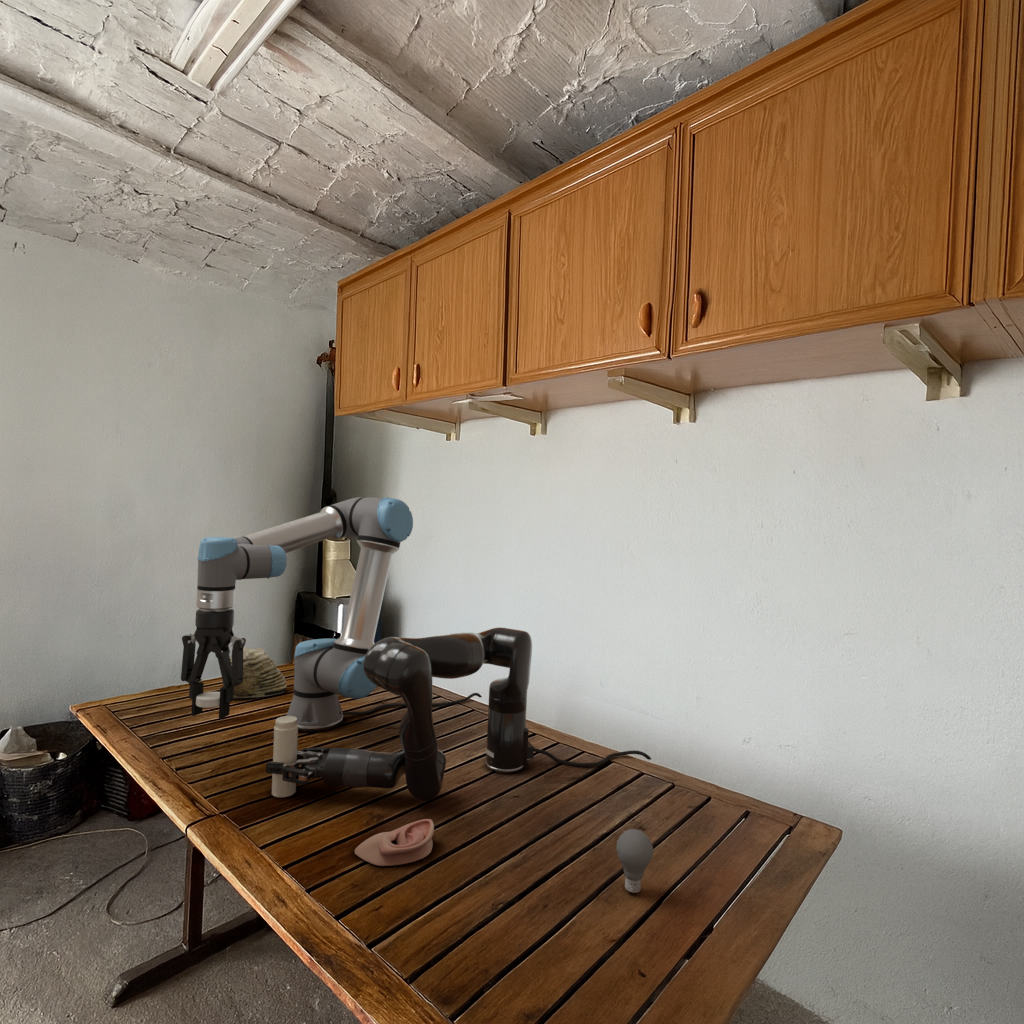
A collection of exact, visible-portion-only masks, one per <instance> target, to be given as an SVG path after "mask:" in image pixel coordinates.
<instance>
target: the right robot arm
mask: <svg viewBox="0 0 1024 1024" xmlns="http://www.w3.org/2000/svg"><path fill="white" fill-rule="evenodd" d="M374 643H375V644H374V645H373V646H372V647H371V648H370V649H369V650H368V652H367V654H366V656H365V658H364V662H363V668H364V672H365V674H366V676H367V678H368V679H369V680H370V681H371V682H372V683H374V684H375V685H377V687H379V688H381V689H383V690H384V691H387V692H389V693H391V694H392V695H395V696H399V697H401V698H402V700H403V703H405V704H406V706H405V707H406V708H407V710H406V712H405V713H404V715H403V716H402V718H401V720H400V722H399V727H398V736H399V742H400V745H401V748H402V750H399V751H396V752H395V751H394V752H384V751H373V750H367V749H362V748H361V749H360V748H348V747H331V748H330V747H326V746H323V747H303V748H302V749H301V750H297V760H296V762H293V763H282V762H273V761H268V762H267V763H266V764H265V773H266V774H271V775H272V774H282V775H283V776H282V780H283V781H287V782H292V783H296V785H301V786H306V785H309V780H310V779H319V778H321V779H322V780H323V782H324V784H325V785H326V786H328V787H329V786H331V787H343V788H344V787H345V788H358V789H360V788H361V789H362V788H375V789H376V788H377V789H387V790H388V789H394V788H395V787H396V786H397V785H398V783H399V781H400V780H401V778H402V777H403V776H404V774H405V783H406V784H405V785H406V788H407V790H408V792H409V794H410V795H411V796H412V797H413V798H414V799H416V800H417V801H420V802H430V801H432V800H434V799H436V798H437V797H438V796H439V794H440V792H441V790H442V787H443V782H444V776H445V771H446V765H447V758H446V757H447V756H446V755H445V754H444V752H442V750H440V749H439V743H438V737H437V733H436V729H435V726H434V725H435V724H434V718H433V706H432V703H433V678H437V679H444V680H445V679H447V680H449V679H450V680H451V679H452V680H453V679H460V678H464V677H469V676H471V675H473V674H475V673H477V672H479V670H480V669H481V668H482V667H483V665H493V666H497V667H502V668H507V669H509V672H508V676H507V677H501V678H497V679H495V680H493V681H491V682H490V684H489V688H488V709H487V731H486V748H485V754H486V755H485V758H486V759H485V767H486V768H487V769H488V770H489V771H492V772H495V773H499V774H515V773H518V772H520V771H522V770H526V769H528V760H531V759H534V758H535V757H534V756H535V753H538V754H541V755H545V756H547V757H548V758H550V759H551V760H553V761H554V762H556V763H559V764H562V765H564V766H565V765H567V766H572V767H581V768H588V767H597V766H598V767H599V766H601V765H603V764H605V763H607V762H608V761H609V760H610V759H612V758H616V757H622V756H628V755H638V756H639V755H640V756H642V757H643V758H645V759H647V760H648V761H649V760H652V758H651V756H650V755H648V754H647V753H646V752H643V751H640V750H625V751H619V752H613V753H610V754H608V755H606V756H605V757H604V758H602V759H601V760H599V761H594V762H576V761H575V762H574V761H568V760H563V759H560V758H558V757H556V756H555V755H553V754H552V753H551V752H549V751H547V750H543V749H540V748H536V747H535V746H534V745H533V744H532V743H531V742H530V741H529V733H530V732H529V731H530V730H529V728H528V727H527V706H528V705H527V703H528V691H529V690H528V689H529V685H530V679H531V667H532V666H531V665H532V657H533V639H532V636H531V634H530V632H527V631H526V630H521V629H514V628H508V627H500V626H499V627H493V628H489V629H487V630H484V631H480V632H457V633H449V634H441V635H433V636H426V637H401V636H400V637H399V636H388V637H384V638H381V639H379V640H378V641H376V642H374ZM291 767H295V768H291ZM290 776H292V777H290Z"/></svg>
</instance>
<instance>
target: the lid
mask: <svg viewBox="0 0 1024 1024" xmlns="http://www.w3.org/2000/svg"><path fill="white" fill-rule="evenodd" d="M219 704H220V691H207V692H203V693H202V694H199V695H197V697H196V705H197V706H198V707H203V708H204V709H205V708H208V709H209V708H216V707H219ZM203 708H202V709H203Z"/></svg>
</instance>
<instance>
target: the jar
mask: <svg viewBox="0 0 1024 1024" xmlns="http://www.w3.org/2000/svg"><path fill="white" fill-rule="evenodd" d="M298 742H299V731H298V724H297V718H296V717H294V716H286V715H284V716H280V717H277V718H276V719H275V724H274V726H273V742H272V743H273V745H272V762H282V763H293V762H296V760H297V751H298V750H299V749H298V748H299V747H298V746H299V745H298V744H299V743H298ZM291 768H295V767H291ZM282 776H283V775H282V774H271V795H272V796H273V797H275V798H286V797H291V796H292V795H294V794H295V793H296V792H297V783H292V782H287V781H283V780H282ZM290 777H292V776H290Z"/></svg>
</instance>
